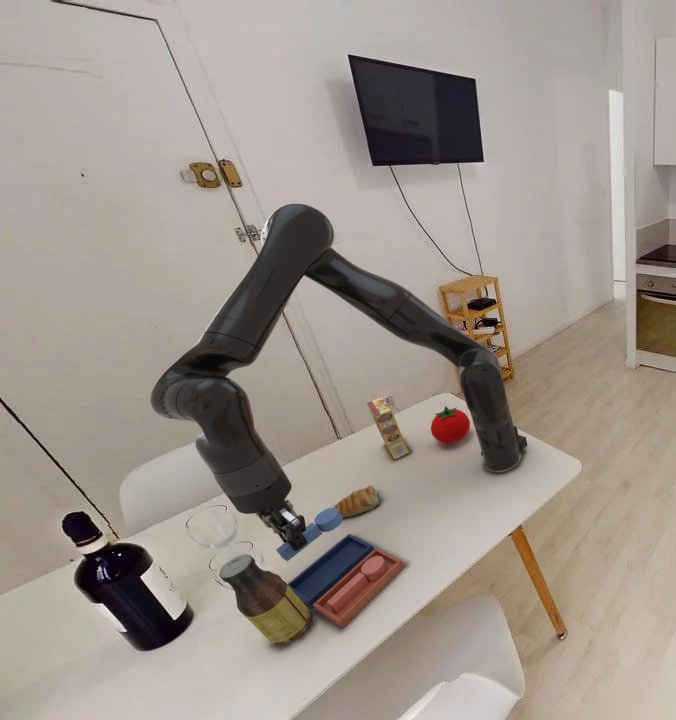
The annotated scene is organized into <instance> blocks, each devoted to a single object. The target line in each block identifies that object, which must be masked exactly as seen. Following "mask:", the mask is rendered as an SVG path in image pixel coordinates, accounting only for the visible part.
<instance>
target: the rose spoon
mask: <svg viewBox="0 0 676 720" xmlns="http://www.w3.org/2000/svg"><path fill="white" fill-rule="evenodd" d="M386 571H387V564H386V562H385V561H384V559H383V557H381V556H374V557H372V558H370V559H368V560H367V561H366V562H365V563H364V564H363V566H362V568H361V572H362V573H363V574H361V573H360V572H359V573H358V574H357V575H356V576H355V577H354V578H352V579H351V580H350V581H349V582H348V583H347V584H346V585H345V586H344V587H343V588H342V589H340V590H339V591H338V592H337V593H336V594H335V595H334V596H333V597H332V598H331V599H329V600H328V601H327V603H328V605H329V606H330V608H331V609H332V610H333V611H335V612H336V613H338V612H339V611H340V610H341V609H342V608H343V607H344V606H346V605H347V604H348V603H349V602H350V601H351V600H352V599H353V598H354V597H355V596H356V595H357V594H358V593H359V592H360V591H361V590H362V589H363V588H364V587H365V586H366V585H368V584H369V582H368V581H375V580H378V579H379V578H381V577H382V576H383V575H384V574H385V573H386Z"/></svg>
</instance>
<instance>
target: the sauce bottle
mask: <svg viewBox="0 0 676 720" xmlns="http://www.w3.org/2000/svg"><path fill="white" fill-rule="evenodd" d="M218 575H219V577H220V579H221V580H222V581H223V582H224V583H228V585H229V586H230V587H231V588H232V590H233V592H234V594H235V599H236V608H237V610H238V611H239V612H240V613H241V614H242V615H243V616H244V617H245V618H246V619H247V621H249V622H250V623H251V624H252V625H253V626H254V627H255V628H256V629H257V630H258V632H260V633H261V634H262V635H263V636H264V637H265V638H266V639H267V640H268V641H269V642H271V643H273V644H275V645H279V646H283V645H288V644H290V643H292V642H294V641H296V640H297V639H299V638H300V637H301V636H302V635H304V633H305V632H306V631H307V630H308V628H309V627H310V625H311V623H312V619H313V618H312V613H311V611H310V609H309V608H308V607H307V604H305V603H303V602H302V601H301V600H300V598H299V597H298V596H297V595H296V594H295V593H294V591H293V590H292V589H291V588H290V587H289V585H288V583H287V581H285V580H283V579H282V577H281V576H280V575H279V574H277V573H274V572H272V571H270V570H263V569H262V568H260V567H259V566H258V565H257V563H256V560H255V558H254V557H253V556H252V555H250V554H248V553H247V554H245V553H244V554H241V555H237V556H235V557H233V558H232V559H230V560H229V561H227V562H226V563H225V564H224V565H222V566H221V568H220V569H219V574H218Z"/></svg>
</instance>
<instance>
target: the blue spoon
mask: <svg viewBox="0 0 676 720" xmlns="http://www.w3.org/2000/svg"><path fill="white" fill-rule="evenodd" d="M343 519H344V518H342V516H341V514H340V512H339V511H338V509H337V508H334V507H329V508H326V509H324V510H322V511H320V512H319V513H318V514H317V515H316V516H315V518H314V522H311V523H309V524H307V525H306V531H305V532H303V533H302V534H303V535H304V537H305V538H306V540H307V544H306V545H305V546H303V547H302V548H301V549H299V550H298V551H294V550H293V549H292V548H291V546H290V545H289V543H288V542H286V543H284V542H283V543H282V545H280V546H278V547H277V548H276V549H275V551H276V552H277V553H278V554H279V556H280V557H281V559H282V560H284V561H286V562H289V561H290V560H291V559H293V558H294V557H295V556H297V555H298V554H300V553H301V552H302V551H303V550H304V549H305V548H307V547H308V546H309V545H310V544H311V543H313V542H314V541H316V540H317V539H318V538H319V537H321V536H322V535H323V533H329V532H331V531H333V530H335V529H337V528H338V527H339V526H340V525H341V524H342V523H343Z"/></svg>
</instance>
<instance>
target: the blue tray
mask: <svg viewBox="0 0 676 720" xmlns="http://www.w3.org/2000/svg"><path fill="white" fill-rule="evenodd" d="M374 549H375V548H374V546H373V545H372V544H371V543H369V542H367V541H366V540H363V539H362V538H359V537H357V536H356V535H353V534H351V533H348V534H346V536H344V537H343V538H342V539H340V540H339V541H338V542H337V543H336V544H335V545H333V546H332V547H330V548H329V549H328V550H327V551H325V552H324V553H323V554H322V555H321V556H320V557H318V558H317V559H315V561H314V562H312V563H311V564H310V565H309V566H308V567H306V568H305V569H304V570H303V571H301V572H300V573H299V574H297V575H296V576H295V577H294V578H293V579H292V580H290V581H289V582H288V583H287V584H288V585H289V587H290V588H291V589H292V590H293V591H294V593H295V594H296V595H297V596H298V597H299V598H300V600H301V601H302V602H303V603H304V604H305V605H306V606H308V607H309V608H311V609H313V608H314V607H313V604H314V603H315V602H316V601H317V600H319V599H320V598H321V597H322V596H323V595H324V594H325V593H326V592H328V591H329V590H330V589H331V588H332V587H333V586H334V585H335V584H336V583H338V582H339V581H340V580H341V579H342V578H343V577H344V576H345V575H346V574H348V573H349V572H350V571H351V570H352V569H353V568H354V567H355V566H357V565H358V564H359V563H360V562H361V561H362V560H363V559H364V558H365V557H367V556H368V555H369V554H370V553H371V552H372V551H373V550H374Z"/></svg>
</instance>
